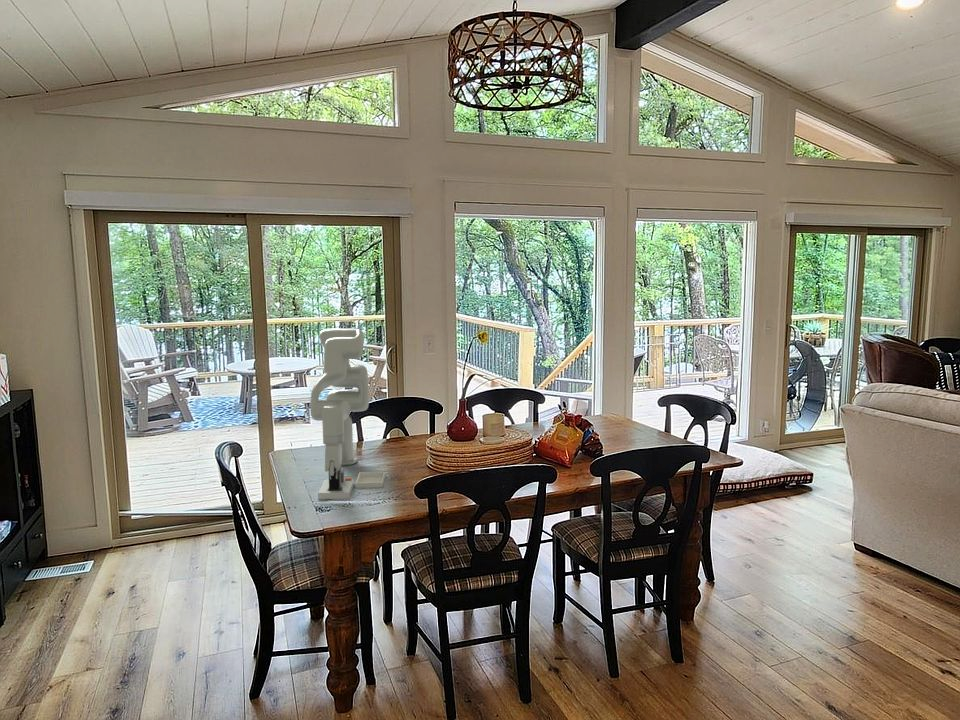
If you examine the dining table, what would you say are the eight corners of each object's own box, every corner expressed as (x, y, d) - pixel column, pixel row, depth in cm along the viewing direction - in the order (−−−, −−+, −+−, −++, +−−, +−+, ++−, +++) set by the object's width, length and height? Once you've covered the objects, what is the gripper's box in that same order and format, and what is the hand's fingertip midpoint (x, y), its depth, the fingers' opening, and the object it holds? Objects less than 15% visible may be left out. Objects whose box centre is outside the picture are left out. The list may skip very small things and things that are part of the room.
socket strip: (325, 486, 253) (324, 469, 252) (354, 486, 254) (353, 468, 253) (318, 501, 238) (317, 482, 237) (349, 500, 239) (348, 481, 238)
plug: (330, 490, 244) (329, 466, 243) (341, 490, 244) (340, 466, 243) (329, 493, 241) (328, 469, 240) (340, 493, 241) (339, 469, 240)
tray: (359, 478, 264) (359, 472, 263) (385, 477, 264) (385, 471, 264) (355, 489, 251) (355, 483, 250) (382, 489, 251) (382, 482, 251)
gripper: (326, 433, 247) (328, 480, 250) (319, 445, 231) (320, 495, 234) (347, 432, 248) (348, 480, 251) (341, 444, 232) (342, 495, 234)
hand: (335, 487), depth 242 cm, fingers closed on plug, 3 cm apart
